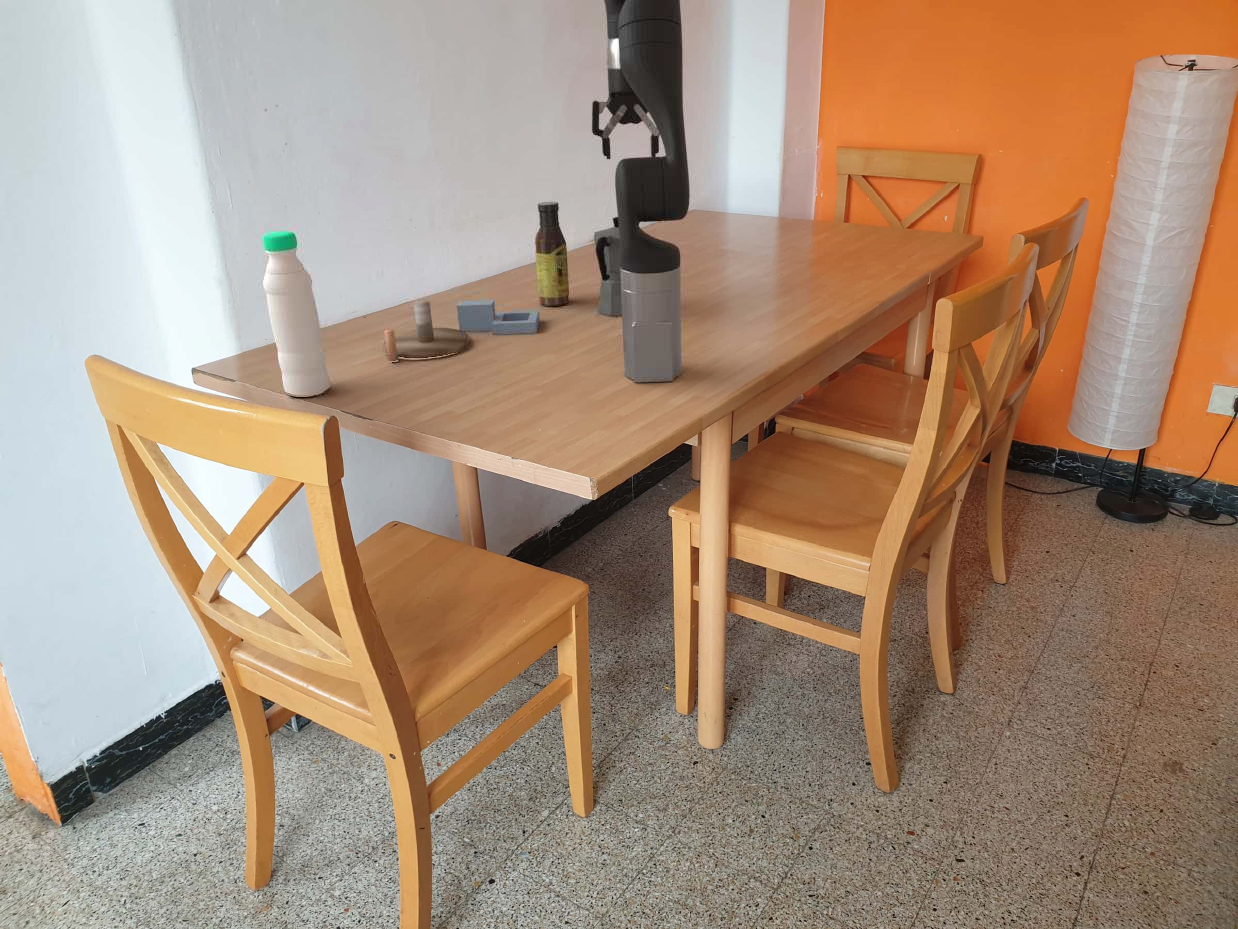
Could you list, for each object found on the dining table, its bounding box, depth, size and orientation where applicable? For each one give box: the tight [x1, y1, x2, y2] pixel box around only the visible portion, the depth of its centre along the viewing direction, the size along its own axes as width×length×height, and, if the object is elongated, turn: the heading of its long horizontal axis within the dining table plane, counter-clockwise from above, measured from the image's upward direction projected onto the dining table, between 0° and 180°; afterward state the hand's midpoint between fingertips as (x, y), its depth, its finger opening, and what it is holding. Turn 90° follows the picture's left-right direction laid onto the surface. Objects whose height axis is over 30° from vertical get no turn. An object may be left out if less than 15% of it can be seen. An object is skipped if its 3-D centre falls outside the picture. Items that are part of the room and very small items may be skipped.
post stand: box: [383, 300, 470, 358], centre depth 169 cm, size 15×15×8 cm
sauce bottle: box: [534, 201, 570, 307], centre depth 190 cm, size 7×6×20 cm
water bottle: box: [262, 230, 331, 395], centre depth 147 cm, size 7×7×25 cm
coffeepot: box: [593, 216, 622, 318], centre depth 182 cm, size 15×9×18 cm, turn 156°
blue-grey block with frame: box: [456, 299, 540, 335], centre depth 179 cm, size 14×8×5 cm, turn 89°
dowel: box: [383, 328, 399, 362], centre depth 163 cm, size 2×2×6 cm
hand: (631, 157), depth 181 cm, fingers open, 8 cm apart
